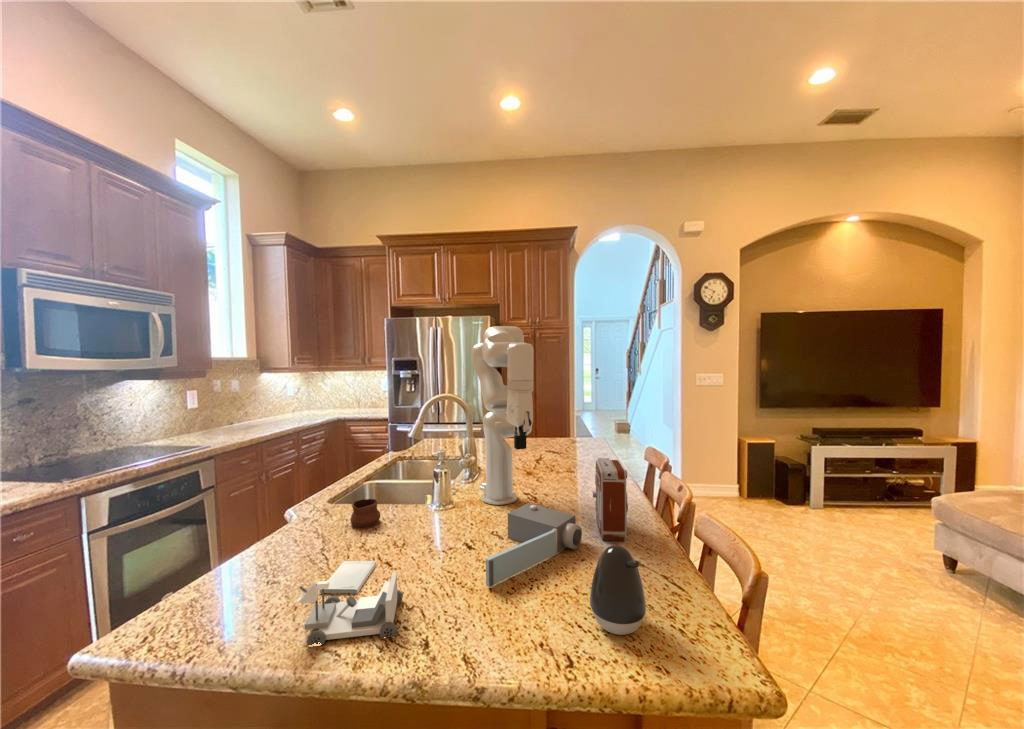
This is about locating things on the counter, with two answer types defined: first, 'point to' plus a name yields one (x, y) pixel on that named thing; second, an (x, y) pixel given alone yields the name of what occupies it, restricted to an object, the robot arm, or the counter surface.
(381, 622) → the toy car
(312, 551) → the counter surface
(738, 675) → the counter surface
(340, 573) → the hard drive
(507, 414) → the robot arm
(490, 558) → the side door
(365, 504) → the ceramic pot
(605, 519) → the cine camera
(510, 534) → the block
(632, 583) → the dark grey egg-shaped piece
